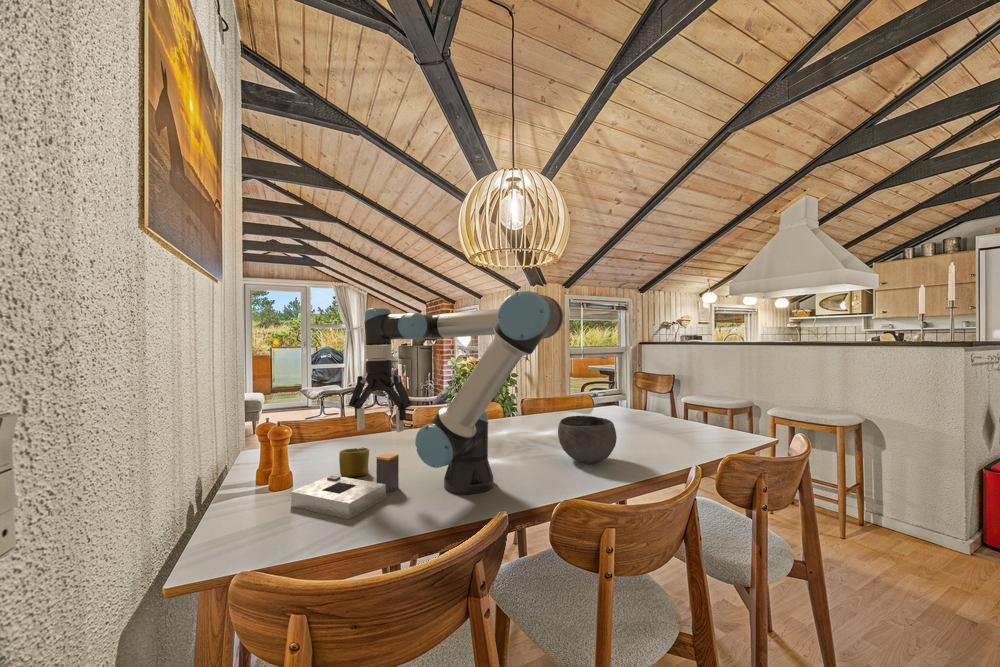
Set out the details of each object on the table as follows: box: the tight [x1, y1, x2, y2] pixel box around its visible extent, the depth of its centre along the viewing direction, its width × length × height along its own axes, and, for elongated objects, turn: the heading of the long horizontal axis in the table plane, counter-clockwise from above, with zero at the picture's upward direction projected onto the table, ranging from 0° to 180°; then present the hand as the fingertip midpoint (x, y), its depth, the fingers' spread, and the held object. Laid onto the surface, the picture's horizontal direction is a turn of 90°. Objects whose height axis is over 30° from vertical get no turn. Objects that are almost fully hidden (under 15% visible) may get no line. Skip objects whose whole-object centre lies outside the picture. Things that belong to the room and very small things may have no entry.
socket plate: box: [290, 474, 387, 520], centre depth 111 cm, size 20×14×5 cm
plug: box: [376, 452, 400, 494], centre depth 121 cm, size 4×4×10 cm
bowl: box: [557, 415, 617, 465], centre depth 147 cm, size 21×21×15 cm
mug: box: [338, 446, 370, 478], centre depth 135 cm, size 12×10×10 cm
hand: (380, 430), depth 122 cm, fingers open, 13 cm apart
